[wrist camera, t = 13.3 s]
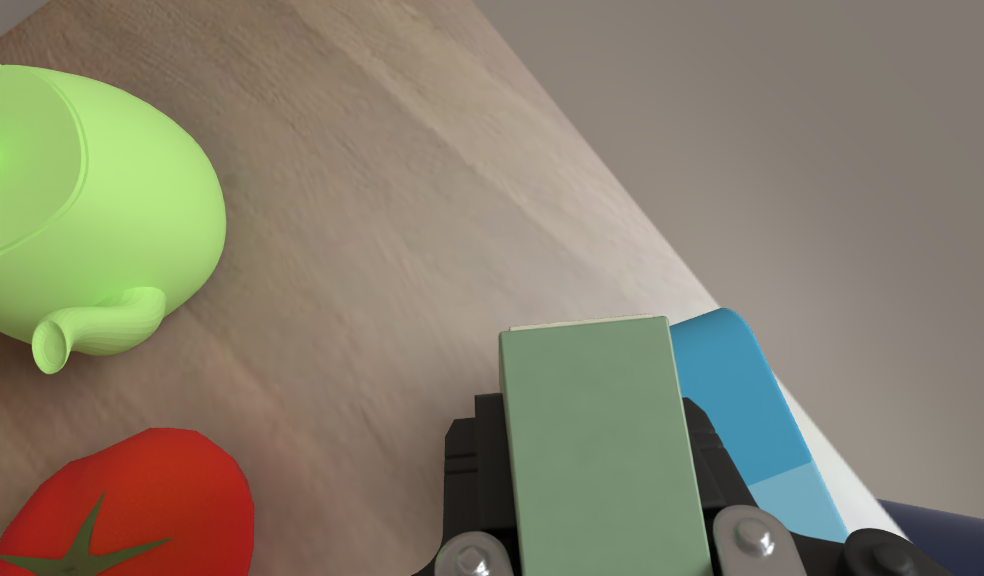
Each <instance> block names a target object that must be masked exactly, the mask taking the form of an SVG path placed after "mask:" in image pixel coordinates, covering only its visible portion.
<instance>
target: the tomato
mask: <svg viewBox="0 0 984 576" xmlns="http://www.w3.org/2000/svg"><path fill="white" fill-rule="evenodd" d="M253 544H254V505H253V501H252V497H251V493H250V489H249V485H248V481H247V479H246V477H245V476H244V474H243V472H242V470H241V469H240V467H239V465H238V464H237V462H236V460H235V459H234V458H233V457H231V456H230V455H229V454H228V453H226V452H225V451H224V450H222V449H221V448H220V447H218V446H217V445H216V444H214V443H213V442H212V441H210V440H209V439H208V438H206V437H205V436H203V435H202V434H200V433H199V432H197V431H193V430H184V429H175V428H149V429H147V430H145V431H143V432H141V433H138V434H136V435H134V436H132V437H130V438H128V439H126V440H124V441H121V442H119V443H117V444H115V445H113V446H111V447H109V448H107V449H104V450H102V451H100V452H98V453H96V454H94V455H91V456H87V457H84V458H81V459H78V460H75V461H72V462H70V463H68V464H67V465H66V466H64V467H63V468H62V469H61V470H59V471H58V472H57V473H55V474H54V475H53V476H51V477H50V478H49V479H48V480H46V481H45V482H44V483H43V484H41V485H40V486H39V488H38V489H37V490H36V491H35V493H34V494H33V495H32V497H31V498H30V499H29V500H28V502H27V503H26V504H25V506H24V507H23V508H22V509H21V511H20V512H19V513H18V515H17V516H16V517H15V518H14V520H13V521H12V522H11V524H10V525H9V526H8V527H7V529H6V530H5V531H4V533H3V536H2V539H1V541H0V576H248V572H249V567H250V562H251V557H252V552H253Z"/></svg>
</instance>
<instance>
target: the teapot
mask: <svg viewBox="0 0 984 576" xmlns="http://www.w3.org/2000/svg"><path fill="white" fill-rule="evenodd" d="M225 237H226V212H225V204H224V199H223V194H222V190H221V187H220V184H219V181H218V179H217V176H216V173H215V171H214V169H213V167H212V165H211V163H210V161H209V159H208V158H207V156H206V155H205V153H204V152H203V150H202V149H201V147H200V146H199V145H198V144H197V143H196V142H195V140H194V139H193V138H192V137H191V136H190V135H189V134H188V133H187V132H185V131H184V130H183V129H182V128H181V127H180V126H179V125H177V124H176V123H175V122H174V121H173V120H172V119H170V118H169V117H167V116H166V115H164V114H163V113H161V112H160V111H158V110H157V109H155V108H154V107H152V106H151V105H149V104H148V103H146V102H144V101H142V100H140V99H138V98H136V97H134V96H133V95H131V94H129V93H127V92H125V91H123V90H121V89H118V88H116V87H113V86H111V85H108V84H105V83H102V82H100V81H97V80H93V79H90V78H86V77H82V76H79V75H74V74H69V73H64V72H59V71H54V70H48V69H43V68H37V67H29V66H19V65H1V64H0V332H2V333H4V334H6V335H8V336H11V337H13V338H16V339H18V340H21V341H24V342H26V343H29V344H32V352H33V357H34V359H35V362H36V364H37V366H38V367H39V368H40V369H41V370H42V371H43V372H44V373H46V374H54V373H56V372H58V371H59V370H60V369H61V368H63V366H64V365H65V363H66V361H67V359H68V356H69V353H70V351H79V352H82V353H85V354H89V355H92V356H110V355H116V354H119V353H122V352H125V351H127V350H129V349H131V348H133V347H135V346H136V345H138V344H140V343H142V342H143V341H145V340H146V339H147V338H148V337H150V336H151V335H152V334H153V333H154V332H155V330H156V329H157V328H158V326H159V325H160V323H161V321H162V319H163V318H164V317H165V316H167V315H169V314H170V313H171V312H173V311H174V310H175V309H177V308H178V307H179V306H180V305H182V304H183V303H184V302H186V301H187V300H188V299H189V298H190V297H191V296H192V295H193V294H195V293H196V292H197V291H198V290H199V289H200V288H201V287H202V286H203V285H204V283H205V282H206V281H207V280H208V278H209V277H210V276H211V274H212V273H213V271H214V269H215V267H216V265H217V264H218V261H219V259H220V256H221V253H222V251H223V247H224V242H225Z"/></svg>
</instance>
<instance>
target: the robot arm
mask: <svg viewBox="0 0 984 576" xmlns="http://www.w3.org/2000/svg"><path fill="white" fill-rule="evenodd" d="M682 400H683V406H684V411H685V417H686V423H687V428H688V434H689V439H690V445H691V451H692V456H693V462H694V467H695V473H696V479H697V484H698V490H699V496H700V501H701V507H702V512H703V518H704V524H705V529H706V535H707V540H708V546H709V552H710V557H711V563H712V568H713V574H714V576H955V575H953V574H952V573H951V572H949V571H948V570H947V569H945V568H944V567H943V566H941V565H940V564H939V563H937V562H936V561H935V560H933V559H932V558H931V557H929V556H928V555H927V554H925V553H924V552H923V551H921V550H920V549H919V548H917V547H916V546H915V545H913V544H912V543H910V542H909V541H907V540H906V539H904V538H902V537H900V536H898V535H896V534H893V533H891V532H888V531H885V530H880V529H873V528H865V529H859V530H856V531H854V532H852V533H851V534H850V535H849V536H848V537H847V539H846V541H845V543H840V542H835V541H829V540H824V539H819V538H814V537H808V536H804V535H800V534H797V533H794V532H792V531H789V530H787V528H786V527H785V526H784V525H783V524H782V522H780V521H779V520H778V519H777V518H776V517H774V516H773V515H771V514H770V513H768V512H766V511H764V510H762V509H760V508H759V506H758V505H757V503H756V502H755V500H754V498H753V496H752V494H751V493H750V491H749V489H748V487H747V485H746V484H745V482H744V480H743V478H742V477H741V475H740V473H739V471H738V469H737V468H736V466H735V464H734V462H733V460H732V459H731V457H730V455H729V453H728V452H727V450H726V448H724V446H723V443H722V441H721V439H720V437H719V435H718V434H717V433H716V432H715V428H714V427H713V425H712V423H711V421H710V419H709V418H708V416H707V414H706V412H705V411H704V410H702V409H701V408H700V407H699V406H698V405H697V404H695V403H694V402H693V401H692V400H691V399H689V398H688V397H684V398H682ZM444 473H445V475H444V513H443V538H442V542H441V546H440V548H439V550H438V552H437V554H436V555H435V557H434V558H433V559H432V560H431V562H430V563H429V564H428V565H427V566H425V567H424V568H423V569H422V570H420V571H419V572H417V573H415V574H413V575H411V576H521V570H520V558H519V546H518V534H517V523H516V513H515V504H514V495H513V486H512V477H511V468H510V458H509V449H508V440H507V431H506V422H505V413H504V403H503V394H502V393H492V394H482V395H475V418H465V419H455V420H454V421H453V423H452V425H451V427H450V429H449V431H448V432H447V434H446V436H445V465H444Z"/></svg>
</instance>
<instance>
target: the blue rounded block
mask: <svg viewBox="0 0 984 576" xmlns="http://www.w3.org/2000/svg"><path fill="white" fill-rule="evenodd" d="M669 327H670V333H671V339H672V344H673V350H674V355H675V361H676V367H677V372H678V378H679V383H680V389H681V395H682V398H684V397H688V398H689V399H691V400H692V401H693V402H694V403H695V404H697V405H698V406H699V407H700V408H701V409H702V410H704V411H705V412H706V414H707V416H708V418H709V419H710V421H711V423H712V425H713V427H714V428H715V432H716V433H717V434H718V435H719V437H720V439H721V441H722V443H723V446H724V448H726V450H727V452H728V453H729V455H730V457H731V459H732V460H733V462H734V464H735V466H736V468H737V469H738V471H739V473H740V475H741V477H742V478H743V480H744V482H745V484H746V485H747V487H748V489H749V491H750V493H751V494H752V496H753V498H754V500H755V502H756V503H757V505H758V506H759V508H760V509H762V510H764V511H766V512H768V513H770V514H771V515H773V516H774V517H776V518H777V519H778V520H779V521H780V522H782V524H783V525H784V526H785V527H786V528H787V530H789V531H792V532H794V533H797V534H800V535H804V536H808V537H814V538H819V539H824V540H829V541H835V542H840V543H845V541H846V539H847V537H848V536H849V533H848V531H847V529H846V527H845V525H844V523H843V521H842V519H841V516H840V514H839V512H838V510H837V508H836V506H835V504H834V502H833V500H832V498H831V495H830V493H829V491H828V489H827V487H826V485H825V483H824V481H823V479H822V476H821V474H820V472H819V470H818V468H817V466H816V464H815V462H814V460H813V458H812V455H811V453H810V451H809V449H808V447H807V445H806V443H805V441H804V439H803V437H802V434H801V432H800V430H799V428H798V426H797V424H796V422H795V420H794V418H793V416H792V413H791V411H790V409H789V407H788V405H787V403H786V401H785V399H784V397H783V394H782V392H781V390H780V388H779V386H778V384H777V382H776V380H775V378H774V376H773V373H772V371H771V369H770V367H769V365H768V363H767V361H766V359H765V357H764V355H763V352H762V351H761V348H760V346H759V344H758V342H757V340H756V338H755V336H754V334H753V332H752V331H751V329H750V327H749V326H748V324H747V323H746V322H745V321H744V319H743V318H742V317H741V316H739V315H738V314H737V313H736V312H734V311H732V310H730V309H727V308H720V309H717V310H714V311H711V312H708V313H706V314H703V315H700V316H697V317H694V318H692V319H689V320H686V321H683V322H680V323H678V324H675V325H672V326H669Z"/></svg>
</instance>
